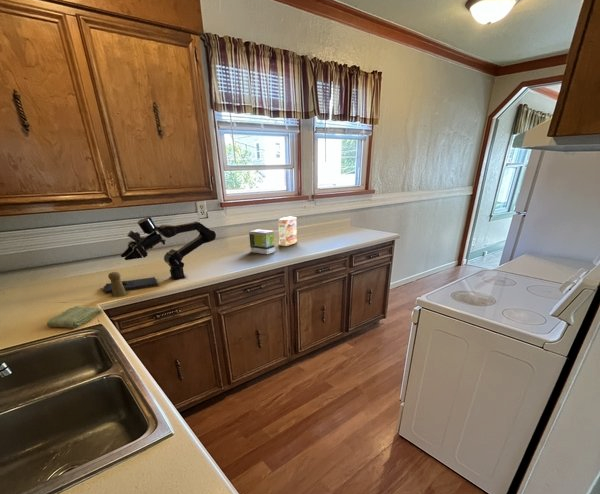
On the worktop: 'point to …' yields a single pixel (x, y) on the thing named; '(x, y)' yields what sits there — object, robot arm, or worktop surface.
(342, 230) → the worktop surface
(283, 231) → the coffeecake box
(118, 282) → the cork
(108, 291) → the socket pad
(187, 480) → the worktop surface
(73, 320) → the washcloth
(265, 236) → the tea box
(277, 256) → the worktop surface
